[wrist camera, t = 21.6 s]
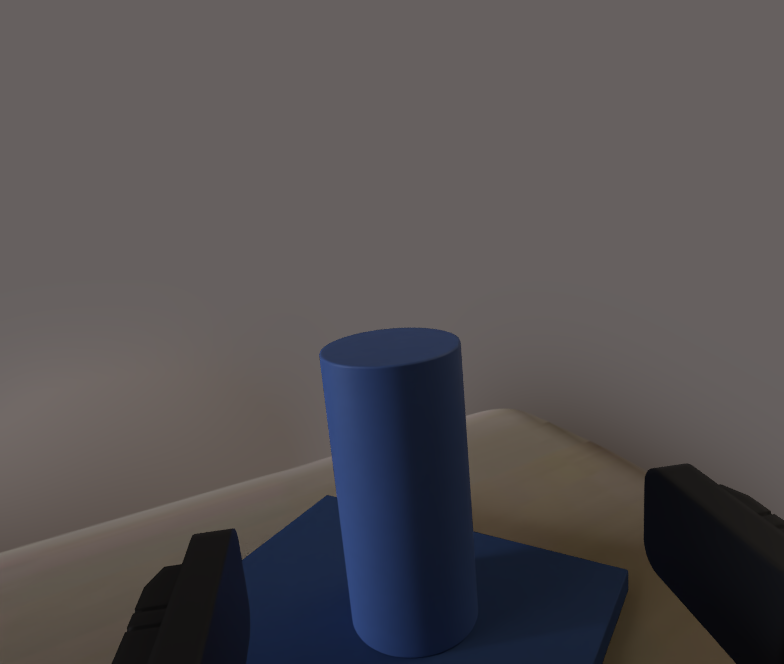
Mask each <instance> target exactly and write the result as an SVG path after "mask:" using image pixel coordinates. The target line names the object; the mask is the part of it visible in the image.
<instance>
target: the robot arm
mask: <svg viewBox="0 0 784 664" xmlns="http://www.w3.org/2000/svg"><path fill="white" fill-rule="evenodd" d="M644 546H645V550H646V554H647V557H648V560H649V562H650V564H651V566H652V568H653V569H654V571H655V572H656V574H657V575H658V576H659V577H660V578H661V579H662V580H663V581H664V583H665V584H666V585H667V586H668V587H669V588H670V589H671V591H672V592H673V593H674V594H675V595H676V596H677V597H678V598H679V600H680V601H681V602H682V603H683V604H684V605H685V606H686V607H687V609H688V610H689V611H690V612H691V613H692V614H693V615H694V616H695V618H696V619H697V620H698V621H699V622H700V623H701V624H702V625H703V627H704V628H705V629H706V630H707V631H708V632H709V633H710V635H711V636H712V637H713V638H714V639H715V640H716V641H717V642H718V644H719V645H720V646H721V647H722V648H723V649H724V650H725V651H726V653H727V654H728V655H729V656H730V657H731V658H732V659H733V660H734V662H735V663H736V664H784V520H782V519H781V518H780V517H778V516H777V515H775V514H773V515H772V514H771V511H769V510H768V509H767V508H766V507H764V506H763V505H761V504H760V503H758V502H757V501H756V500H754V499H753V498H751V497H750V496H748V495H746V494H743V493H741V492H738V491H736V490H733V489H731V488H728V487H726V486H724V485H718V484H717V483H715V482H714V481H713V480H711V479H710V478H709V477H707V476H706V475H705V474H703V473H702V472H700V471H699V470H697V469H696V468H695V467H693V466H692V465H690V464H680V465H673V466H667V467H659V468H653V469H650V470H648V471H647V473H646V476H645V487H644ZM249 639H250V607H249V599H248V593H247V588H246V582H245V576H244V570H243V564H242V558H241V552H240V546H239V541H238V536H237V533H236V530H235V529H227V530H220V531H213V532H206V533H199V534H194V535H193V536H192V538H191V540H190V543H189V546H188V549H187V552H186V554H185V557H184V560H183V563H182V564H180V565H174V566H167V567H164V568H163V569H162V570H161V571H160V572H159V573H158V574H157V575H156V576H155V577H154V578H153V579H152V580H151V581H150V582H149V583H148V584H147V585H146V586H145V587H144V589H143V591H142V594H141V596H140V598H139V601H138V603H137V605H136V608H135V613H134V614H133V615H132V617H131V620H130V622H129V624H128V627H127V632H125V634H124V636H123V638H122V641H121V643H120V645H119V648H118V650H117V653H116V655H115V657H114V660H113V662H112V664H246V660H247V653H248V646H249Z"/></svg>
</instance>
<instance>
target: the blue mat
mask: <svg viewBox="0 0 784 664" xmlns="http://www.w3.org/2000/svg"><path fill="white" fill-rule="evenodd" d="M473 537H474V553H475V568H476V583H477V598H478V617H477V620H476V623H475V625H474V627H473V629H472V631H471V632H470V633H469V634H468V636H467V637H466V638H465V639H464V640H463V641H461V642H460V643H459V644H457V645H456V646H454V647H452V648H450V649H449V650H446V651H444V652H442V653H439V654H435V655H432V656H427V657H420V658H402V657H395V656H390V655H387V654H384V653H381V652H379V651H377V650H375V649H373V648H371V647H370V646H368V645H367V644H366V643H365V642H364V641H363V640H362V639H361V638H360V637H359V635H358V634H357V632H356V630H355V628H354V625H353V620H352V612H351V604H350V596H349V588H348V580H347V572H346V564H345V556H344V548H343V540H342V532H341V524H340V517H339V509H338V501H337V497H333V496H329V495H327V496H325V497H324V498H323V499H321V500H320V501H319V502H317V503H316V504H315V505H314V506H312V507H311V508H310V509H308V510H307V511H306V512H304V513H303V514H302V515H301V516H299V517H298V518H297V519H295V520H294V521H293V522H291V523H290V524H289V525H287V526H286V527H285V528H284V529H282V530H281V531H280V532H278V533H277V534H276V535H274V536H273V537H272V538H270V539H269V540H268V541H267V542H265V543H264V544H263V545H261V546H260V547H259V548H257V549H256V550H255V551H253V552H252V553H251V554H250V555H248V556H247V557H246V558H244V559H243V560H242V564H243V570H244V576H245V582H246V588H247V593H248V599H249V607H250V639H249V646H248V653H247V660H246V664H602V662H603V660H604V657H605V654H606V651H607V648H608V645H609V643H610V640H611V637H612V634H613V631H614V628H615V626H616V623H617V620H618V617H619V614H620V612H621V609H622V606H623V603H624V600H625V597H626V595H627V592H628V570H626V569H622V568H618V567H614V566H610V565H606V564H602V563H598V562H594V561H590V560H586V559H582V558H578V557H574V556H570V555H566V554H562V553H558V552H554V551H550V550H545V549H541V548H537V547H533V546H529V545H525V544H521V543H517V542H513V541H509V540H505V539H501V538H497V537H493V536H489V535H485V534H481V533H477V532H473Z"/></svg>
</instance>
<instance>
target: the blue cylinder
mask: <svg viewBox="0 0 784 664" xmlns="http://www.w3.org/2000/svg"><path fill="white" fill-rule="evenodd" d="M319 357H320V365H321V373H322V380H323V389H324V397H325V404H326V413H327V421H328V429H329V437H330V445H331V452H332V461H333V469H334V477H335V485H336V493H337V501H338V509H339V517H340V524H341V532H342V540H343V548H344V556H345V564H346V572H347V580H348V588H349V596H350V604H351V612H352V620H353V625H354V628H355V630H356V632H357V634H358V635H359V637H360V638H361V639H362V640H363V641H364V642H365V643H366V644H367V645H368V646H370V647H371V648H373V649H375V650H377V651H379V652H381V653H384V654H387V655H390V656H395V657H402V658H420V657H427V656H432V655H435V654H439V653H442V652H444V651H446V650H449V649H450V648H452V647H454V646H456V645H457V644H459V643H460V642H461V641H463V640H464V639H465V638H466V637H467V636H468V634H469V633H470V632H471V631H472V629H473V627H474V625H475V623H476V620H477V617H478V598H477V583H476V568H475V553H474V537H473V522H472V507H471V492H470V477H469V462H468V447H467V432H466V417H465V403H464V387H463V372H462V356H461V343H460V340H459V338H458V337H457V336H456V335H454V334H452V333H449V332H446V331H442V330H437V329H428V328H393V329H384V330H375V331H369V332H363V333H359V334H354V335H351V336H347V337H344V338H341V339H338V340H336V341H334V342H332V343H329V344H328V345H326V346H325V347H324V348H323V349H322V350H321V351H320V354H319Z"/></svg>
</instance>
